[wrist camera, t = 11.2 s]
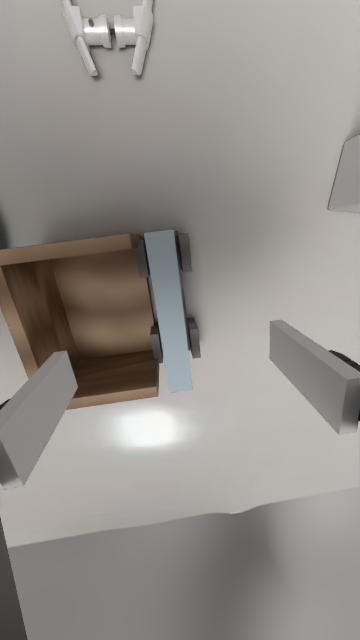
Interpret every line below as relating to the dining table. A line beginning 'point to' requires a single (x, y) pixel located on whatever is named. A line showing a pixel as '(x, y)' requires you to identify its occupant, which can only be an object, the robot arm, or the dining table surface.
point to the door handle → (110, 32)
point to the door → (169, 308)
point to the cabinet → (90, 313)
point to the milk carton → (347, 179)
